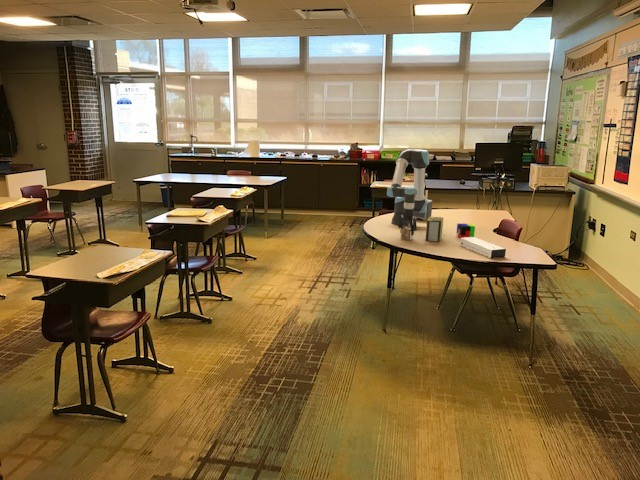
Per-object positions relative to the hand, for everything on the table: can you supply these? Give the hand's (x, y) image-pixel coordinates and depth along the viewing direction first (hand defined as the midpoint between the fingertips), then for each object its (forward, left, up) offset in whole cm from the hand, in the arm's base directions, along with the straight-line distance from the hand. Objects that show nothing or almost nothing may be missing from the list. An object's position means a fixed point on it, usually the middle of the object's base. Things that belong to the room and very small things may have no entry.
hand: (406, 238), depth 371 cm
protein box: (+14, +15, -1) cm, 21 cm away
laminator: (+54, +9, -1) cm, 55 cm away
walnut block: (0, 0, 0) cm, 0 cm away
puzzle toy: (+28, +37, -1) cm, 47 cm away
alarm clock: (-34, +73, -1) cm, 81 cm away
